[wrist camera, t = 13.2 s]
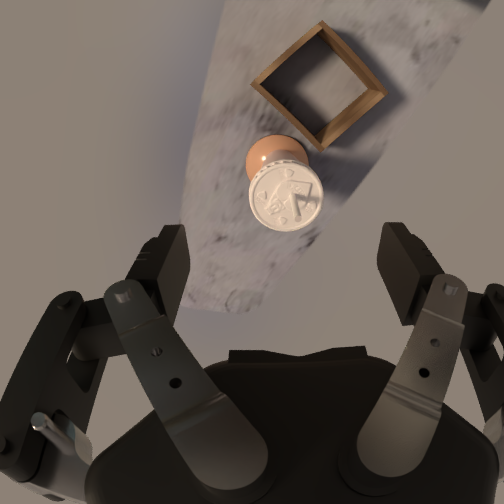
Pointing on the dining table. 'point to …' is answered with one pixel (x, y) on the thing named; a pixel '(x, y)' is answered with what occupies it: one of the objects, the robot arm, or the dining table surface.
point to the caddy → (349, 113)
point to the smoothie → (285, 192)
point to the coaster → (269, 145)
